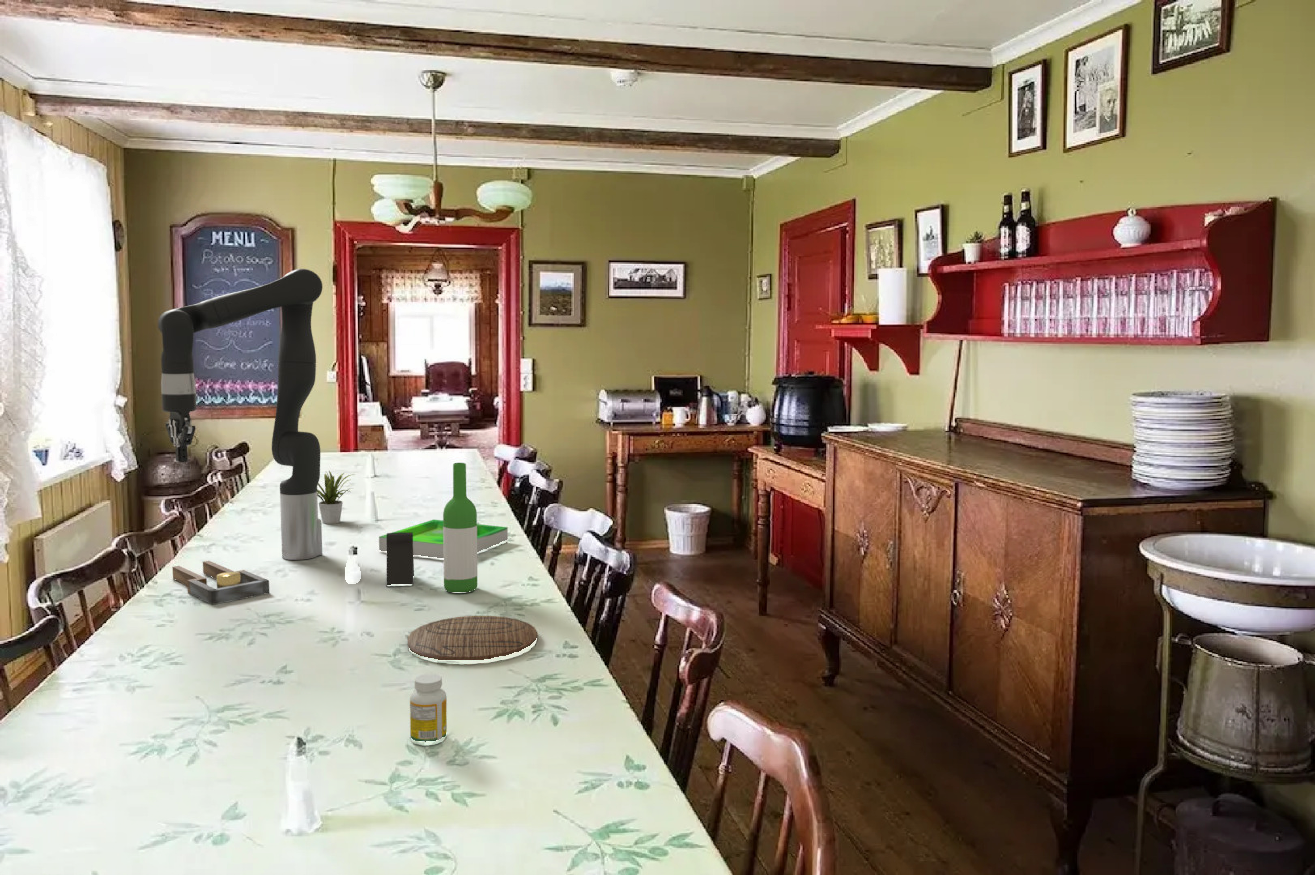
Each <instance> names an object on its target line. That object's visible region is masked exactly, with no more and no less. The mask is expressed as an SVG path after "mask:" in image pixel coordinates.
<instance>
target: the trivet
mask: <svg viewBox="0 0 1315 875" xmlns="http://www.w3.org/2000/svg"><path fill="white" fill-rule="evenodd" d="M536 638H537V639H538V631H537V629H536V627H535V626H533V625H532V624H530V623H529V622H526V621H523V620H521V619H517V618H512V617H508V616H500V615H499V616H497V615H465V616H456V617H450V618H443V619H438V620H436V621H432V622H428V623H426V624H423V625H421V626H419V627H417V628H415V629H414V630H413V631H411V632H410V634H409V635H408V636H407V648H408V647H409V648H410V650H411V651H412V652H414V653H416V654H418V655H420V656H424V657H428V658H434V659H438V660H484V659H491V658H494V657H499V656H506V655H509V654H512V653H514V652H519V651H521V650H522V649H524V648H526V647H528V646H530V645H531V644H532V643H533V642H534V641H535V640H536Z"/></svg>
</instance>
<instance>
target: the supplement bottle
mask: <svg viewBox="0 0 1315 875" xmlns="http://www.w3.org/2000/svg"><path fill="white" fill-rule="evenodd" d="M413 686H414V689H415V690H414V691H412V692H411V694H410V697H409V709H410V710H409V716H410V723H409V724H410V726H409V728H410V730H409V731H410V739H411V738H412V739H413V740H415V741H425V742H426V741H436V740H439V739H441V738H442V737H445V736H446V732H447V731H448V730H447V726H448V725H447V720H448V719H447V714H448V713H447V706H448V704H447V692H446V691H445V690H444V688H442V686H443V677H442V675H440V674H436V673H423V674H419V675H418V676H417V675H416V677H414V685H413ZM447 733H448V732H447ZM446 737H447V736H446Z"/></svg>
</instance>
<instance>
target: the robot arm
mask: <svg viewBox="0 0 1315 875" xmlns="http://www.w3.org/2000/svg"><path fill="white" fill-rule="evenodd" d="M322 291H323V282H322V279H321V278H320V276H319V275H318V274H317V273H316V272H315V271H313V270H310V269H309V268H308V269H307V268H297V269H293V270H291V271H289V272H288V273H285V275H284V276H282V277H281V278H279V279H276V280H274V281H271V282H269V283H268V282H267V283H266V284H264V285H260V286H256V287H253V288H248V289H244V290H239V291H235V292H232V293H226V294H222V295H220V296H216V297H212V298H208V299H206V300H202V301H200V302H198V303H196V304H191V305H187V306H182V307H178V308H173V309H169V310H166V311H165V312H163V313H162V314H161V315H159V317H158V321H157V326H158V327H157V328H158V330H159V331H160V333H161V336H162V337H161V338H162V352H161V357H160V362H161V363H160V364H161V381H160V388H161V389H160V390H161V407H162V408H161V410H162V411H163V412H165V413H169V417H168V422H166V423H165V428H166V431H167V434H168V437H169V439H170V440H169V441H170V443H171V444H173V447H174V448H175V461H176V462H177V463H187V462H188V459H189V457H188V447H189V446H190V445H192V443H193V439H194V435H195V431H196V425H192V419H191V415H190V413H191V412H194V411H196V410H197V396H196V394H197V393H196V392H197V391H196V390H197V389H196V380H195V379H196V378H195V374H194V357H193V347H194V334H195V333H198V332H201V331H204V330H208V329H209V330H210V329H215V328H219V327H223V326H226V325H230V324H232V323H235V322H238V321H241V320H244V319H248V318H250V317H252V316H254V315H259V314H261V313H264V312H267V311H270V310H273V309H278V308H281V331H280V339H279V351H278V360H277V362H278V364H277V367H278V368H277V395H276V396H277V397H276V406H275V408H276V409H275V419H274V423H273V424H274V425H273V431H272V438H271V453H272V454H271V455H272V457H273V458H272V459H273V460H274V461H275V462H276V463H277V464H279V466H286V467H287V466H289V467H292V472H291V476H290V477H289V478H288V479H285V480H282V481H281V482H280V483H279V501H280V502H279V503H280V528H281V529H280V530H281V557H282V559H284V560H294V561H295V560H296V561H297V560H298V561H300V560H302V561H303V560H308V559H313V558H316V557H318V556H323V534H322V532H323V529H322V528H323V527H322V524H323V523H322V519H320V518H319V510H318V509H319V502H318V501H319V500H318V499H319V498H318V496H317V493H318V492H317V489H318V483H319V482H320V478H321V445H320V444H321V443H320V441H319V439H318V437H317V436H316V435H315V434H314V433H312V432H308V431H299V420H300V419H299V418H300V414H301V411H302V408H303V406H304V403H305V402H306V400H307V399H308V397H309V395H310V394H311V392H312V390H313V388H314V387H315V386H314V385H315V382H316V374H317V371H316V370H317V369H316V368H317V354H316V347H315V341H314V336H313V332H312V315H313V308H314V306H313V305H314V302H316V301H317V300H318V299H320V298H319V297H320V296H321V295H322V293H323V292H322Z"/></svg>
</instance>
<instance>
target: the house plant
mask: <svg viewBox="0 0 1315 875" xmlns="http://www.w3.org/2000/svg"><path fill="white" fill-rule="evenodd" d="M328 472H329V473H328ZM328 472H327V471H325V473H324V488H325V489H324V488H323V487H322V485H321V484H320V483H319V482H318V485H317V487H319V488H320V489H321V491H320V490H319V489H318V488H317V498H318V497H319V498H320V499H321V501H319V502H318V509H319V511H320V517H321V524H325V525H332V524H333V525H334V524H339V523H341V519H342V509H343V505H344V504H343V503H344V502H343V501H341V500H340V499H341V497H342V496H343V495H344V494H345V493H346V492H350V493H351V491H350V489H353V487H350V488H348V489H342V487H343V486H344V485H345V483H347V482H348V481H350V479H347V478H348V477H350V476H355V475H356V474H355V473H353V474H349V475H347V476H344V477H343V475H345V472H343V473H341V474H340V475H339V476H338V477H337V479H336V480H335V475H332V472H331V471H330V470H328ZM346 479H347V480H346ZM344 480H346V481H344ZM343 481H344V482H343ZM342 482H343V484H342ZM341 484H342V485H341ZM338 488H339V489H338ZM339 495H340V496H339Z"/></svg>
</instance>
